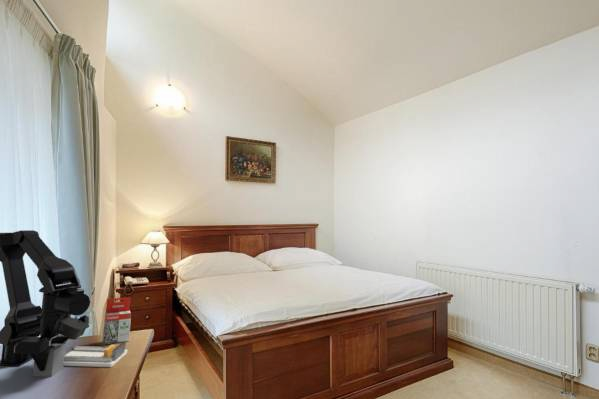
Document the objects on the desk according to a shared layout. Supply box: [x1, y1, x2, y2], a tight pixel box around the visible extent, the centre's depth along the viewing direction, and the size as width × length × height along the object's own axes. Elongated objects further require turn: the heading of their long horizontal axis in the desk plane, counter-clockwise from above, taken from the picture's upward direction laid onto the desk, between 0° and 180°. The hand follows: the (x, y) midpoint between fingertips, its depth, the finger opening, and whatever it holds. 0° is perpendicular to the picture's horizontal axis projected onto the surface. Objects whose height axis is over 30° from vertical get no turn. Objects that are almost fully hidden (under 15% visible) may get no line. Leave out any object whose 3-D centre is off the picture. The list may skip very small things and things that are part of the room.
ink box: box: [102, 296, 132, 345], centre depth 113 cm, size 4×8×15 cm, turn 123°
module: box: [32, 343, 66, 378], centre depth 89 cm, size 5×4×7 cm
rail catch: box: [104, 343, 117, 357], centre depth 99 cm, size 1×4×2 cm, turn 3°
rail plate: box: [63, 341, 128, 368], centre depth 99 cm, size 16×10×4 cm, turn 94°
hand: (48, 366), depth 89 cm, fingers closed on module, 4 cm apart
